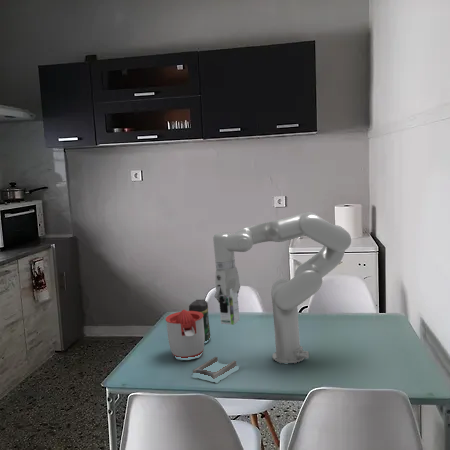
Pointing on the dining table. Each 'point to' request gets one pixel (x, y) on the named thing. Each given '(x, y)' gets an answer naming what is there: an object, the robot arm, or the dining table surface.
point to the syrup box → (231, 309)
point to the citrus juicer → (186, 333)
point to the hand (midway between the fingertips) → (229, 309)
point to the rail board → (214, 374)
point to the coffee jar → (203, 308)
